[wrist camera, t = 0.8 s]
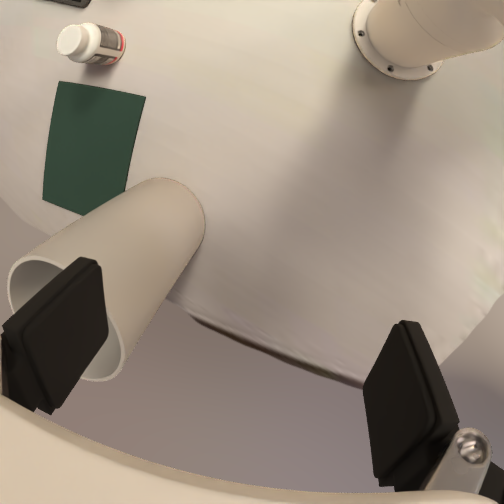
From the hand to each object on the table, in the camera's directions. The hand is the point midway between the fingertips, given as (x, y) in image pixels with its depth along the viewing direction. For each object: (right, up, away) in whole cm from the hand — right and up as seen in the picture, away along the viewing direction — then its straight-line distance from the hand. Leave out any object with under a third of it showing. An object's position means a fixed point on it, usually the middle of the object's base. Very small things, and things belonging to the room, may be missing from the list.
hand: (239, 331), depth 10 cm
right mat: (-24, +17, +32) cm, 44 cm away
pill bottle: (-19, +31, +25) cm, 44 cm away
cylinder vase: (-12, +7, +35) cm, 38 cm away
